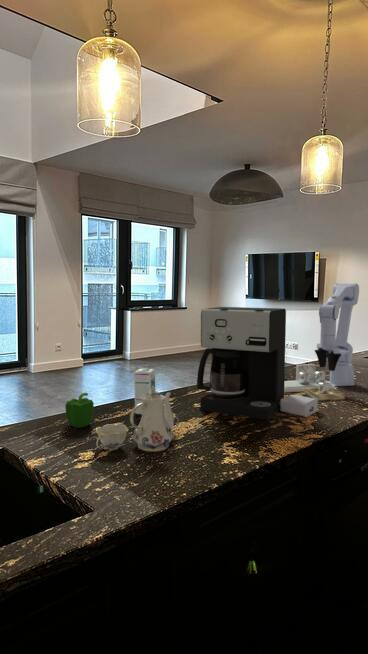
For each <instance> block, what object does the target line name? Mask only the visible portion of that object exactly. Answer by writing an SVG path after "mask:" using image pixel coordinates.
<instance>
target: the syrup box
mask: <svg viewBox="0 0 368 654" xmlns="http://www.w3.org/2000/svg"><path fill="white" fill-rule="evenodd" d="M133 381H134V384H133V385H134V388H133V389H134V407H135V406H136V405H137V404H140V403H143V402H142V398H141V396H144V395H147V393H148V392H150V391H151V390H150V389H152V387H154V388H155V389H156V369H154V368H145V367H144V368H139V369H137V370H136V371H135V370H134V371H133ZM141 406H143V405H141ZM141 406H139V407H138V408H137V409H136V411H135V413H134V414H136V415H142V413H143V410H141V408H140V407H141Z"/></svg>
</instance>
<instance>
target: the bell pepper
mask: <svg viewBox="0 0 368 654" xmlns="http://www.w3.org/2000/svg"><path fill="white" fill-rule="evenodd" d="M88 395H89V393H88V392H82V393H81V394H79V396H78V399H76V398H72V399H70V400H68V401H66V402H65V406H64V408H65V414H66V419H67V422H68V424H69V425H70V426H71V427H73V428H76V429H82V428H85V427H87V426H88V425H90V424H91V423H92V418H93V414H94V411H95V408H94V406H95V404H94V401H93V399H89V398H87V396H88ZM84 396H85V397H84Z"/></svg>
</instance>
